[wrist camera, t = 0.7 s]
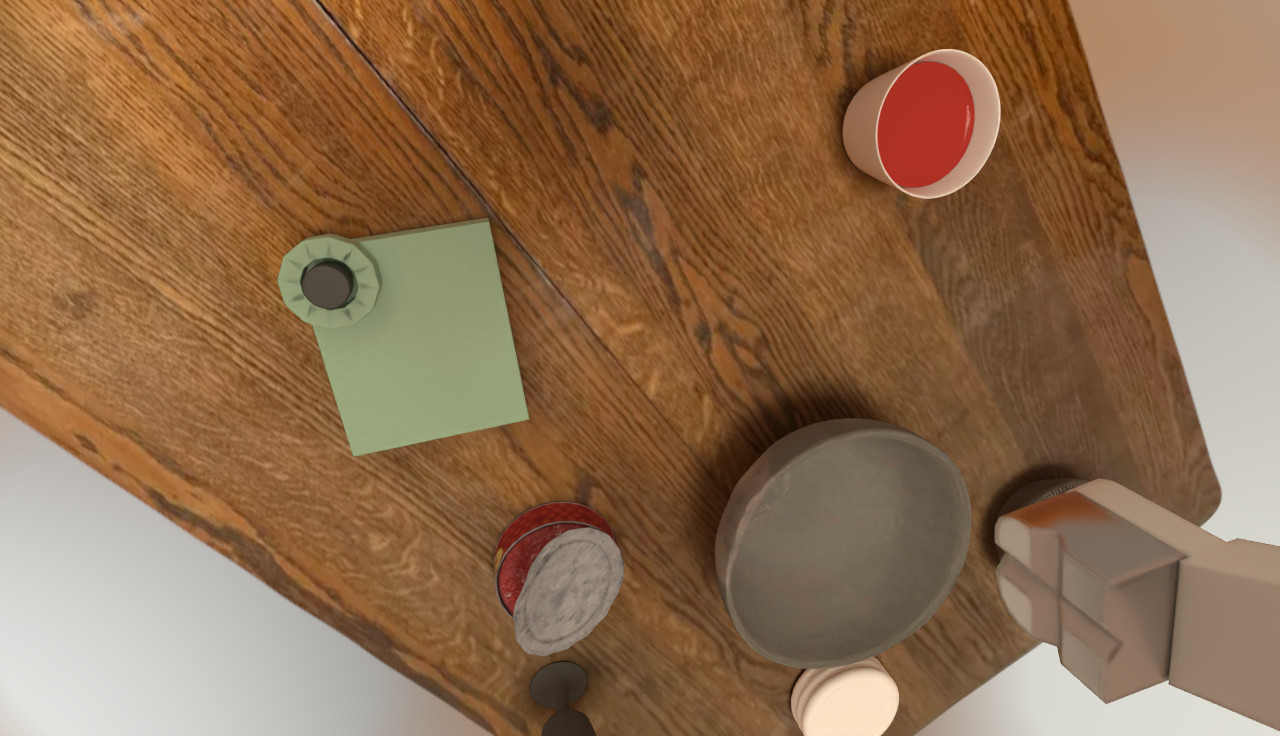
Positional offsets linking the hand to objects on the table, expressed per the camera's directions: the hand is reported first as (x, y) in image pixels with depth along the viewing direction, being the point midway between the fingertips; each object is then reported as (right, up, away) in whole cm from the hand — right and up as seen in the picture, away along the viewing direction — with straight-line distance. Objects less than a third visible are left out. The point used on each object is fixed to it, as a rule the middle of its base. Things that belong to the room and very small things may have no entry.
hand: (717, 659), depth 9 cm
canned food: (-8, -11, +46) cm, 48 cm away
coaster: (+18, -28, +59) cm, 67 cm away
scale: (-16, +6, +38) cm, 41 cm away
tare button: (-20, +9, +32) cm, 39 cm away
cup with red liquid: (+17, +21, +41) cm, 49 cm away
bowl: (+13, -7, +50) cm, 52 cm away
